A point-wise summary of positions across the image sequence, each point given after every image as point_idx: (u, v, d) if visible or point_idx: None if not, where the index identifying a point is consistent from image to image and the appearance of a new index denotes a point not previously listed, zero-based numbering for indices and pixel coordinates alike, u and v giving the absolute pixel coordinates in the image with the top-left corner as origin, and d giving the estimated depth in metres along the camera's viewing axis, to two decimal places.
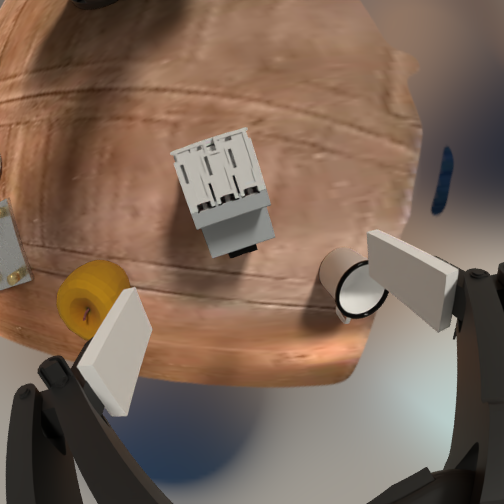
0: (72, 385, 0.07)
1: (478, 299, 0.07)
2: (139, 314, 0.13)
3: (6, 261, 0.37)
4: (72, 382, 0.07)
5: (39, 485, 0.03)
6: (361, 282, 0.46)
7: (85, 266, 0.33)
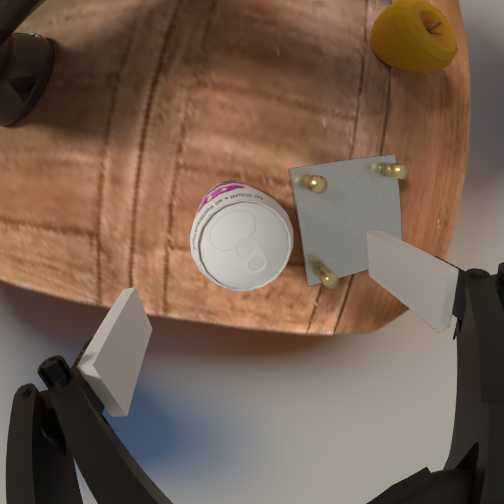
0: (72, 385, 0.07)
1: (478, 299, 0.07)
2: (139, 314, 0.13)
3: (371, 196, 0.35)
4: (72, 382, 0.07)
5: (39, 485, 0.03)
6: None
7: (385, 23, 0.22)
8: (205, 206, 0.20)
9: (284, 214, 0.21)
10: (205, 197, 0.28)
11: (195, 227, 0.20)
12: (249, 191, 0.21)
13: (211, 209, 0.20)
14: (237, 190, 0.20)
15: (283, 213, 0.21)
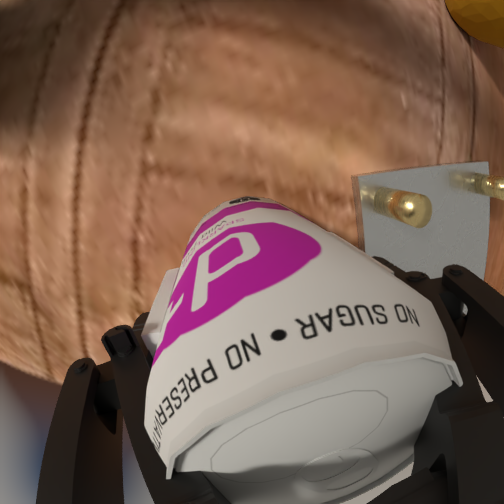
0: (136, 355, 0.08)
1: None
2: None
3: (462, 224, 0.19)
4: (137, 352, 0.08)
5: (81, 467, 0.04)
6: None
7: None
8: (182, 354, 0.04)
9: (448, 346, 0.05)
10: (194, 244, 0.12)
11: (154, 417, 0.05)
12: (370, 287, 0.05)
13: (209, 384, 0.04)
14: (325, 285, 0.04)
15: (447, 344, 0.05)
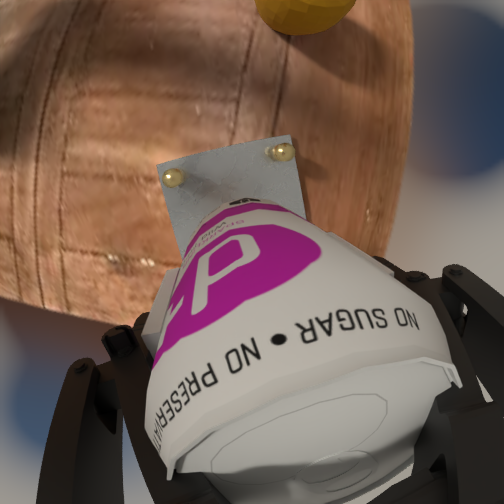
0: (136, 355, 0.08)
1: None
2: None
3: (258, 186, 0.32)
4: (137, 352, 0.08)
5: (81, 467, 0.04)
6: None
7: None
8: (182, 357, 0.04)
9: (448, 348, 0.05)
10: (194, 245, 0.12)
11: (154, 420, 0.05)
12: (370, 291, 0.05)
13: (210, 387, 0.04)
14: (325, 288, 0.04)
15: (447, 347, 0.05)
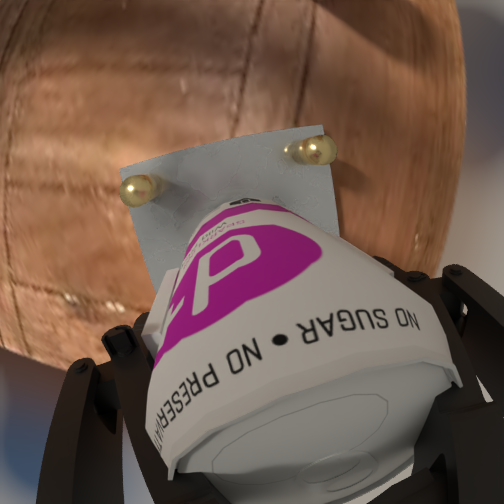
0: (136, 355, 0.08)
1: None
2: None
3: None
4: (137, 352, 0.08)
5: (80, 467, 0.04)
6: None
7: None
8: (183, 358, 0.04)
9: None
10: (195, 246, 0.12)
11: (155, 420, 0.05)
12: (370, 291, 0.05)
13: (211, 388, 0.04)
14: (326, 289, 0.04)
15: (448, 347, 0.05)
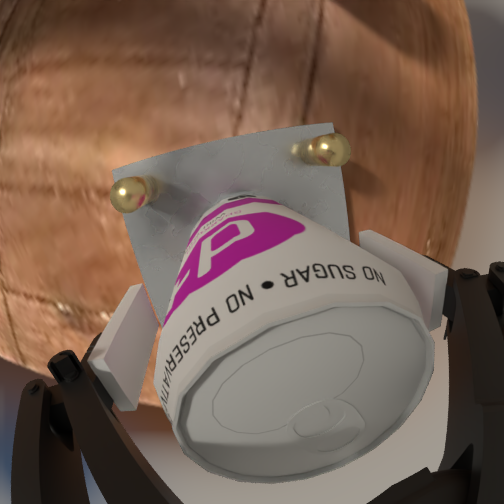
0: (82, 380, 0.07)
1: (468, 299, 0.07)
2: (146, 310, 0.14)
3: None
4: (82, 377, 0.07)
5: (45, 481, 0.03)
6: None
7: None
8: (191, 306, 0.06)
9: (421, 312, 0.06)
10: (197, 234, 0.13)
11: (164, 368, 0.06)
12: (341, 252, 0.06)
13: (213, 326, 0.05)
14: (304, 249, 0.06)
15: (419, 310, 0.06)
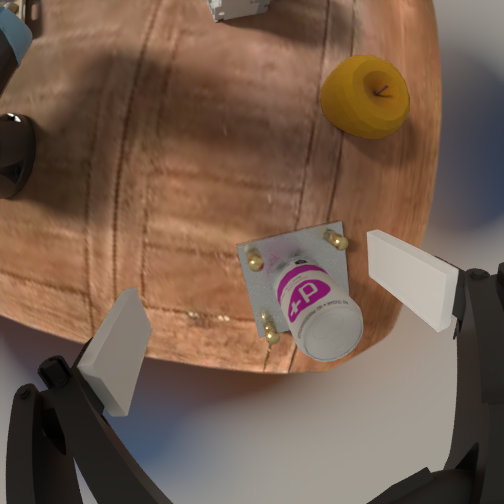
0: (72, 385, 0.07)
1: (478, 299, 0.07)
2: (139, 314, 0.13)
3: None
4: (72, 382, 0.07)
5: (39, 485, 0.03)
6: None
7: (328, 92, 0.28)
8: (308, 309, 0.28)
9: (359, 310, 0.29)
10: (290, 283, 0.35)
11: (301, 323, 0.28)
12: (338, 297, 0.28)
13: (314, 313, 0.27)
14: (331, 297, 0.28)
15: (359, 310, 0.28)
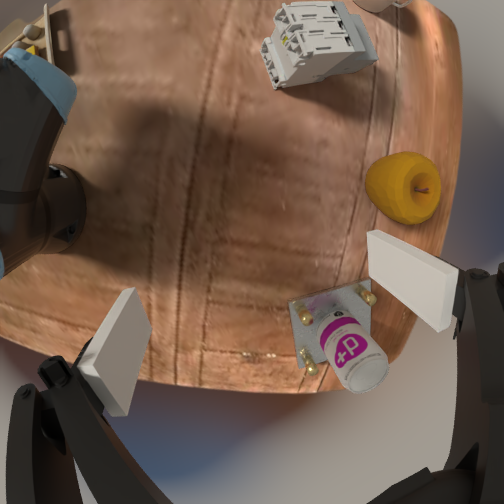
0: (72, 385, 0.07)
1: (478, 299, 0.07)
2: (139, 314, 0.13)
3: (348, 311, 0.49)
4: (72, 382, 0.07)
5: (39, 485, 0.03)
6: None
7: (378, 186, 0.36)
8: (354, 361, 0.36)
9: None
10: (333, 334, 0.43)
11: (348, 370, 0.36)
12: (374, 351, 0.36)
13: (358, 363, 0.35)
14: (369, 351, 0.36)
15: (386, 357, 0.36)
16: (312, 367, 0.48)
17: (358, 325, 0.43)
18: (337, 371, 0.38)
